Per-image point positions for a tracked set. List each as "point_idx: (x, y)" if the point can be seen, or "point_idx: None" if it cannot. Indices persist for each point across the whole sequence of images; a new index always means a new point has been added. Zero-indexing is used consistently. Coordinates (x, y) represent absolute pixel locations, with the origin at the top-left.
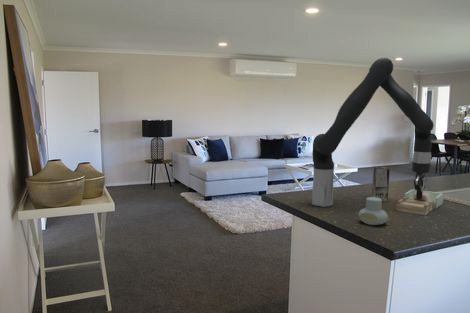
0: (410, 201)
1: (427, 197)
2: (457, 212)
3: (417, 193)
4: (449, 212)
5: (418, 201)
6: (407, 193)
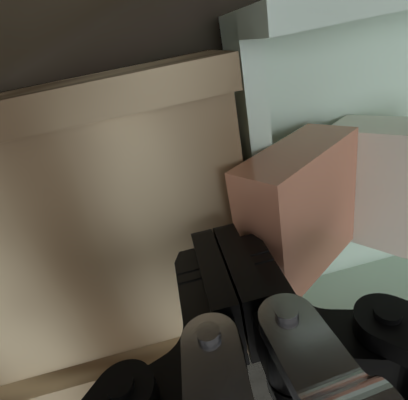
0: (87, 195)
1: (385, 241)
2: (265, 385)
3: (180, 305)
4: None
5: (177, 244)
6: (343, 22)
